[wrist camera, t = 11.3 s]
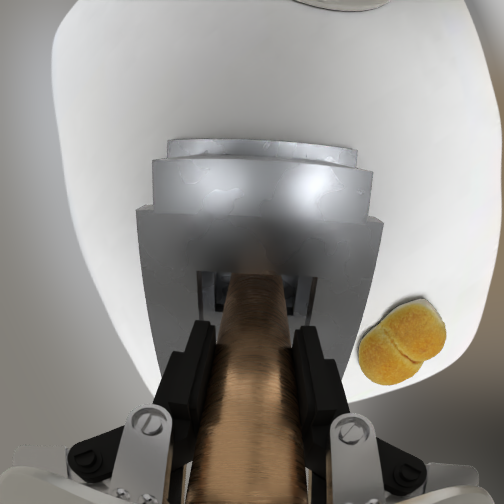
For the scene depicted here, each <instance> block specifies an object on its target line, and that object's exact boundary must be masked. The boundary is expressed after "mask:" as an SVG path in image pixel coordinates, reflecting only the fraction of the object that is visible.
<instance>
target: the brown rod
mask: <svg viewBox="0 0 504 504" xmlns="http://www.w3.org/2000/svg"><path fill="white" fill-rule="evenodd" d="M185 504H308V494H307V482H306V471H305V460H304V450H303V440H302V431H301V423H300V414H299V405H298V396H297V388H296V380H295V371H294V363H293V356H292V346H291V339H290V331H289V324H288V317H287V310H286V303H285V296H284V289H283V282H282V276H281V275H262V274H243V273H232V274H231V278H230V283H229V287H228V292H227V296H226V301H225V305H224V310H223V315H222V319H221V324H220V328H219V333H218V338H217V342H216V349H215V354H214V358H213V363H212V368H211V373H210V378H209V383H208V388H207V393H206V397H205V402H204V407H203V413H202V418H201V423H200V427H199V431H198V436H197V441H196V446H195V451H194V456H193V462H192V467H191V472H190V478H189V483H188V489H187V494H186V500H185Z"/></svg>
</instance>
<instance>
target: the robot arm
mask: <svg viewBox="0 0 504 504" xmlns="http://www.w3.org/2000/svg"><path fill="white" fill-rule="evenodd" d="M296 1H299V2H302V3H306V4H309V5H312V6H316V7H321V8H326V9H331V10H341V11H364V10H370V9H375V8H377V7H380V6H383V5H385V4H386V3H387V2H389V1H390V0H296ZM215 349H216V327H215V325H211V323H210V321H202V320H195V322H194V325H193V328H192V330H191V333H190V336H189V339H188V342H187V345H186V348H185V351H184V352H179V351H173V352H172V354H171V356H170V358H169V361H168V363H167V366H166V369H165V371H164V374H163V376H162V379H161V382H160V384H159V387H158V390H157V392H156V395H155V398H154V401H153V404H144V405H140V406H138V407H136V408H134V409H133V410H132V411H131V412H130V413H129V415H128V417H127V419H126V423H125V425H124V426H121V427H119V428H116V429H114V430H111V431H109V432H106V433H104V434H101V435H99V436H96V437H93V438H90V439H88V440H84V441H82V442H79V443H77V444H75V445H74V446H73V447H72V448H66V447H65V446H34V445H22V446H19V447H18V448H16V450H15V451H14V454H13V467H12V468H9V469H8V470H6V471H5V472H4V473H2V475H1V476H0V504H184V496H185V481H186V480H185V479H186V467H187V463H189V462H191V461H193V456H194V451H195V446H196V441H197V436H198V431H199V427H200V423H201V418H202V413H203V407H204V402H205V397H206V393H207V388H208V383H209V378H210V373H211V368H212V363H213V358H214V354H215ZM292 356H293V363H294V371H295V380H296V388H297V396H298V405H299V414H300V423H301V431H302V440H303V450H304V460H305V467H307V468H308V469H309V472H308V475H309V476H308V504H495V503H494V501H493V499H492V498H491V496H490V495H489V493H488V492H487V491H486V490H484V489H483V488H481V487H478V483H479V475H478V472H477V470H476V469H475V468H474V467H472V466H467V465H465V466H464V465H450V464H439V463H429V464H428V465H427V464H424V463H423V461H422V460H420V459H418V458H417V457H415V456H413V455H411V454H409V453H406V452H404V451H402V450H400V449H398V448H396V447H394V446H392V445H390V444H388V443H386V442H384V441H383V440H380V439H379V438H377V437H376V435H375V430H374V427H373V425H372V423H371V422H370V421H369V420H368V419H367V418H365V417H364V416H362V415H359V414H355V413H350V411H349V407H348V403H347V399H346V396H345V392H344V389H343V385H342V381H341V378H340V375H339V371H338V368H337V364H336V362H335V360H334V359H324V355H323V351H322V348H321V344H320V340H319V336H318V333H317V329H316V326H301V327H300V329H295V332H294V338H293V344H292Z"/></svg>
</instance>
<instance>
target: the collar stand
mask: <svg viewBox="0 0 504 504" xmlns="http://www.w3.org/2000/svg"><path fill="white" fill-rule="evenodd" d="M356 161H357V150H354V149H347V148H340V147H333V146H325V145H316V144H307V143H296V142H284V141H269V140H249V139H180V140H168V145H167V158H164V159H156V160H152V173H153V205H144V206H142V207H140V208H139V209H137V210H136V219H137V232H138V243H139V253H140V261H141V270H142V277H143V284H144V291H145V298H146V304H147V310H148V316H149V321H150V326H151V332H152V337H153V342H154V346H155V351H156V355H157V360H158V364H159V368H160V372H161V376H163V374H164V371H165V369H166V366H167V363H168V361H169V358H170V356H171V354H172V352H173V351H179V352H184V351H185V348H186V345H187V342H188V339H189V336H190V333H191V330H192V328H193V325H194V322H195V320H202V321H210V323H211V325H215V327H216V341H217V338H218V333H219V328H220V324H221V319H222V315H223V310H224V305H225V301H226V296H227V292H228V287H229V283H230V278H231V274H232V273H243V274H262V275H281V276H282V282H283V289H284V296H285V303H286V310H287V317H288V324H289V331H290V339H291V345H292V344H293V338H294V332H295V329H300V327H301V326H316V329H317V333H318V336H319V340H320V344H321V348H322V351H323V355H324V359H334V360H335V362H336V364H337V368H338V371H339V375H340V378H341V380H342V377H343V375H344V372H345V369H346V366H347V364H348V361H349V358H350V355H351V352H352V349H353V346H354V343H355V340H356V337H357V333H358V330H359V327H360V323H361V320H362V317H363V313H364V310H365V306H366V302H367V298H368V295H369V291H370V287H371V283H372V278H373V274H374V270H375V265H376V261H377V256H378V251H379V246H380V241H381V236H382V230H383V224H384V223H383V222H382V221H380V220H379V219H377V218H376V217H371V216H368V210H369V203H370V195H371V187H372V178H373V172H371V171H367V170H363V169H359V168H356Z"/></svg>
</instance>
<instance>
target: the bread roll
mask: <svg viewBox="0 0 504 504" xmlns="http://www.w3.org/2000/svg"><path fill="white" fill-rule="evenodd" d="M445 340H446V329H445V323H444V322H443V321H442V318H441V317H440V315H439V314H438V312H437V311H436V309H435V308H434V307H433V305H432V304H430V303H429V302H428V301H427V300H426V299H417V300H414V301H411V302H407V303H405V304H402V305H399V306H398V307H396V308H395V309H394V310H393V311H391V312H390V313H389V314H388V315H387V316H386V317H385V318H384V319H383V320H382V321H381V322H380V323H379V324H378V325H376V326H375V327H373V328H372V329H371V330H370V331H369V332H368V333H367V334H366V335H365V336H364V338H363V339H362V340H361V342H360V346H359V364H360V367H361V370H362V372H363V373H364V375H365V376H366V377H367V378H368V379H370V380H371V381H372V382H374V383H377V384H380V385H394V384H397V383H400V382H402V381H404V380H406V379H408V378H410V377H412V376H413V375H414V374H415V373H416V372H418V370H419V369H420V368H421V366H422V364H423V362H424V361H426V360H428V359H431V358H432V357H434V356H436V355H437V354H438V353H439V352H440V351H441V350H442V348H443V346H444V343H445Z"/></svg>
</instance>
